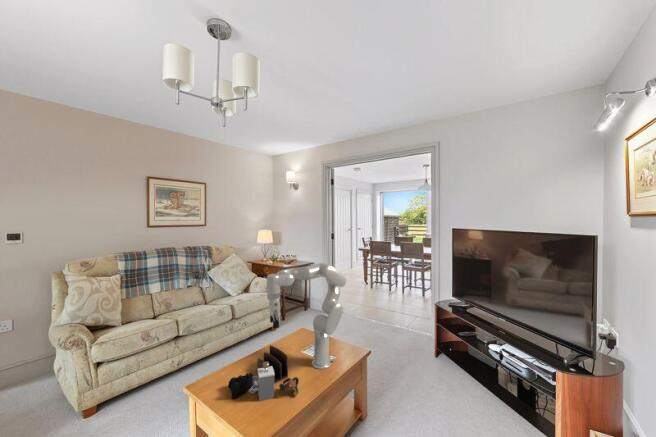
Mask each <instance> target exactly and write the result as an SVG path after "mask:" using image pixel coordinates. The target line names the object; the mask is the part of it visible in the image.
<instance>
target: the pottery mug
mask: <svg viewBox="0 0 656 437" xmlns="http://www.w3.org/2000/svg"><path fill="white" fill-rule="evenodd" d="M299 381H300V379H299V377H297V376H294V377H293V378H291V377H287V378H285V379H283V380H282V382H281V383H280V384H279V386H278V388H279V392H280V393H281V392H282V393H285V390H286V391H290V390H291V389H290V387H292V388H293V389H294V392H292V394H293V397H294V398H295V397H297V395H299V389H298V385H299V384H300V383H299Z"/></svg>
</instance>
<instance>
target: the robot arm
mask: <svg viewBox="0 0 656 437" xmlns="http://www.w3.org/2000/svg"><path fill="white" fill-rule="evenodd" d="M321 277H322V278H325V281H326V283H327V288H328V289H327V292H326V294H325V297H324V300H323V302H322V304H321V311H322V312H323V313H325V314H326V315H325V314H322V313H319V314H316V315H315V316H314V318H313V320H312V326H313V333H314V334H313V335H314V336H313V338H314V340H313V342H314V343H313V344H314V345H313V346H314V347H313V348H314V350H313V351H314V352H313V353H314V354H313V359H312V361H311V366H312V367H313V368H315V369H318V370H324V369H328V368H330V367H331V365H332V361H334V360H337V357H336V356H333V355H329V354H330V336H332V335H333V334H334V333H335V331H337V327H338V325H339V323H340V321H341V319H342V316H343V313H344V312H343V311H344V308H343V305H342V304H341V303H340V302H339V298H340V296H341V288H343V287H344V286H345V285H346V284H347V278H346V275H344V274H343V273H342V272H341V271H339V270H338V269H337V268H336V267H334V266H333V265H331V264H328V263H323V262H321V263H316V264H312V265H308V266H307V265H306V266H300V267H291V268H290V267H289V268H286V269H282V270H279V271H278V272H277V273H269V274H268V275H267V276H266V299H267V300H268V309H269V310H268V311H269V315H270V316H269V321H270V322H269V323H273V324H272V325H273V326H272V329H279V328H280V319H279V318H280V316H281V304H280V303H281V302H280V299H281V287H290V286H291V285H293V284H294V282H295V281H296V280H299V281H310V280H313V279H318V278H321Z"/></svg>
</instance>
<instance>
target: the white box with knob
mask: <svg viewBox="0 0 656 437" xmlns="http://www.w3.org/2000/svg"><path fill="white" fill-rule="evenodd" d="M256 370H257V375H253V387H252V390H256V389H257V397H258V402H262V401H268V400H272V399H275V384H274V375H275V374H274V370H273V367H272V366H271V367H268V368H267V372H265V368H259V369H257V368H256ZM255 380H257V384H256V381H255Z"/></svg>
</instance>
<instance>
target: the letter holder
mask: <svg viewBox="0 0 656 437" xmlns="http://www.w3.org/2000/svg"><path fill="white" fill-rule="evenodd" d="M263 362H269V367H271V366H272V367H273V370H274V374H275V375H274V385H275V384H278V383H279V382H281V381H284V380H285V379H287V378H289V364H288V363H289V361H288V355H287V353H285V352H284V351H283V350H281V349H280V348H277V347H276V346H273V345H269V353H268V352H266V351H263V359H261V358H257V360H256V370H257V369H259V368H263Z"/></svg>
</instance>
